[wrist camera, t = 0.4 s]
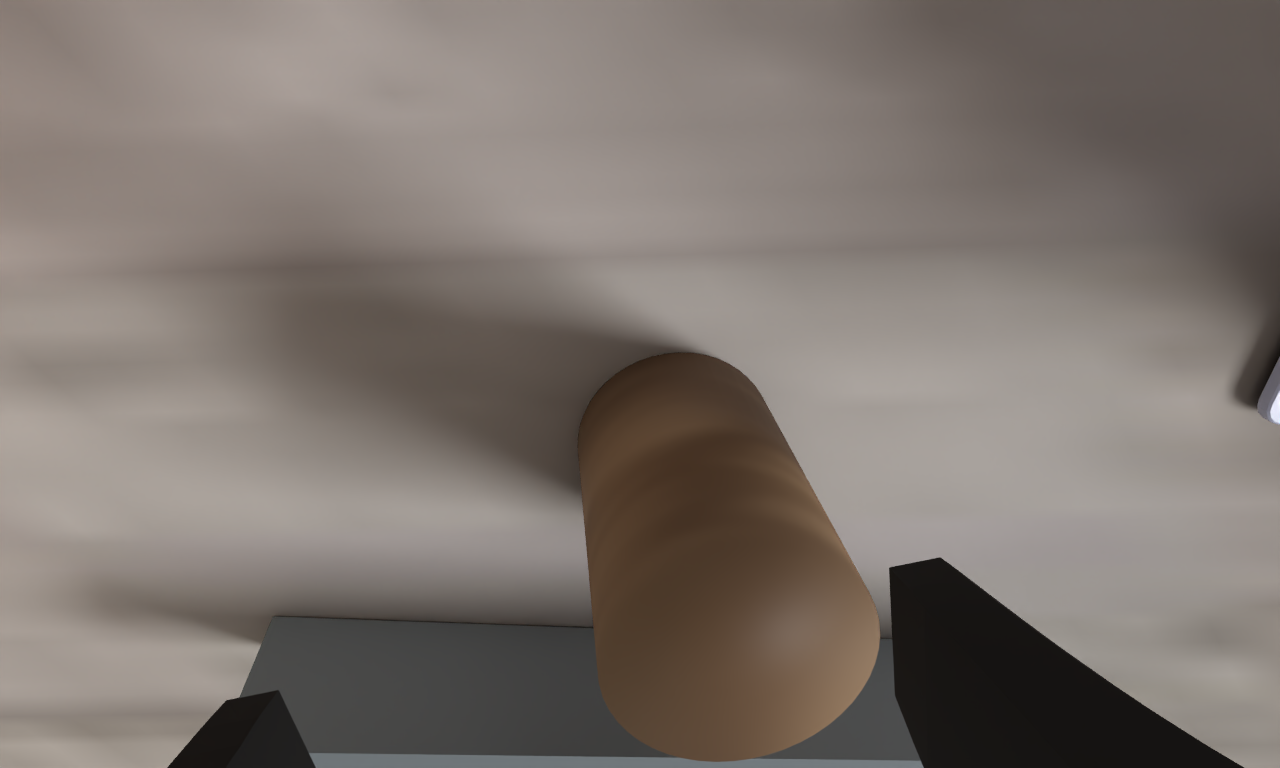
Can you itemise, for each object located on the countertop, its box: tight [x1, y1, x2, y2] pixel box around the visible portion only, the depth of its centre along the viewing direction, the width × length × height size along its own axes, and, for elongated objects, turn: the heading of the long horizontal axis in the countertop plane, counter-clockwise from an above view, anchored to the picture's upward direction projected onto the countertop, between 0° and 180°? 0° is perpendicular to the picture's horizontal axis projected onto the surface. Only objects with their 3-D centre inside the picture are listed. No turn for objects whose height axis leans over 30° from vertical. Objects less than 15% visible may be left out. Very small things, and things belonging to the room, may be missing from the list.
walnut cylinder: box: [578, 352, 880, 762], centre depth 17 cm, size 4×4×7 cm
